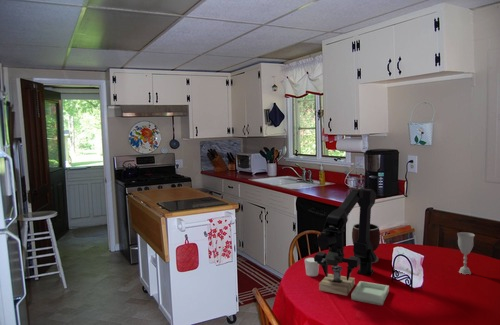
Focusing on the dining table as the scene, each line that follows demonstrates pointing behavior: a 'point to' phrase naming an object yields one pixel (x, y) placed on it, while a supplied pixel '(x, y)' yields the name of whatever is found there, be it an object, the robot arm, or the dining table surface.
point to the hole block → (337, 285)
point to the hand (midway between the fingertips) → (337, 278)
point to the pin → (337, 273)
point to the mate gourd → (373, 236)
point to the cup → (311, 267)
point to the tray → (370, 293)
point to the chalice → (465, 248)
